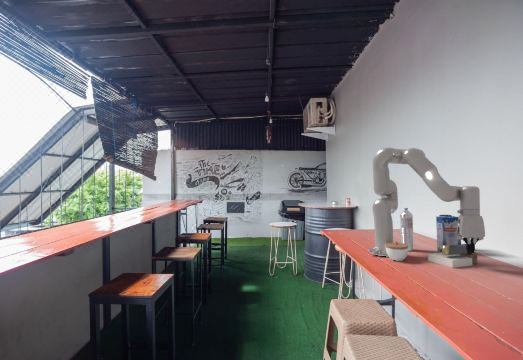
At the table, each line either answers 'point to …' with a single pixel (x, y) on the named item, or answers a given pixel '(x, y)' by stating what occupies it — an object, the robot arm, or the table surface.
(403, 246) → the lidded jar
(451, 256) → the door panel
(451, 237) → the milk carton
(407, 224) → the water bottle
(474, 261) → the jamb block
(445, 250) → the latch bar
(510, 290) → the table surface
